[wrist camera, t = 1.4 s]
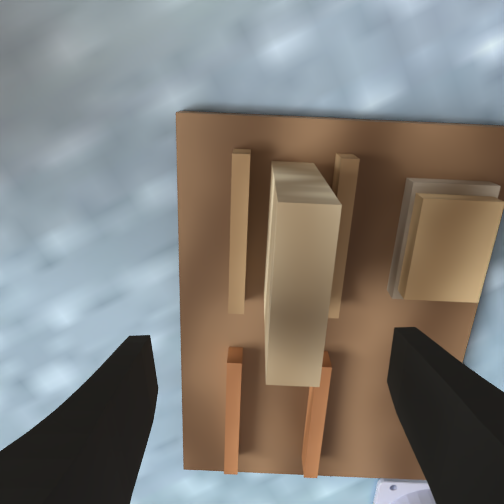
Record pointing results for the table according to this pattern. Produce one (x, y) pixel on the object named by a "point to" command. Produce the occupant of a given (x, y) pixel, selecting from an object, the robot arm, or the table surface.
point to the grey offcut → (407, 207)
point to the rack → (342, 293)
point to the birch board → (298, 272)
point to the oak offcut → (449, 247)
